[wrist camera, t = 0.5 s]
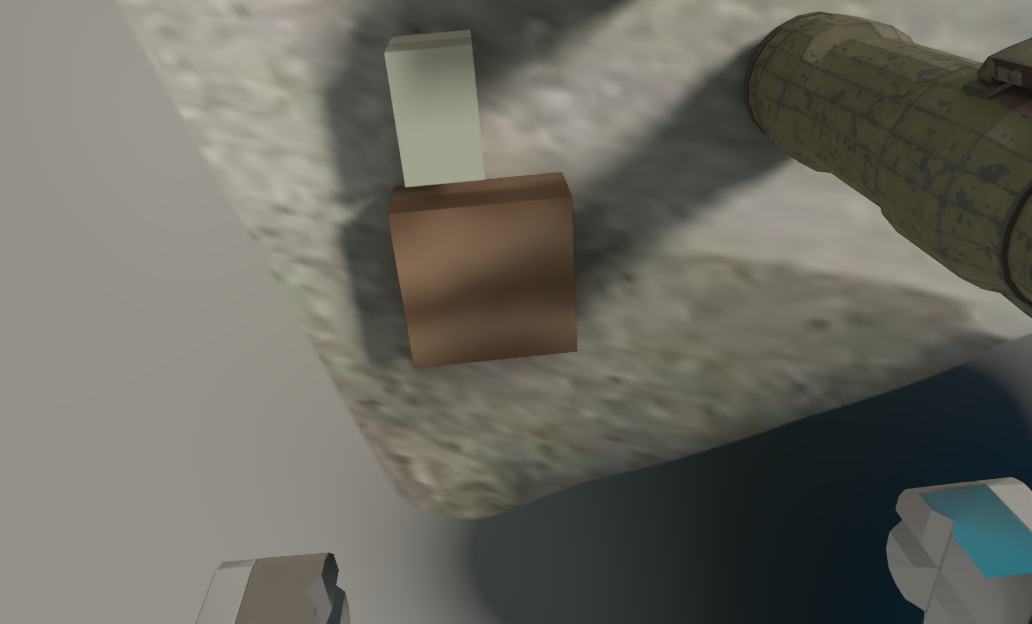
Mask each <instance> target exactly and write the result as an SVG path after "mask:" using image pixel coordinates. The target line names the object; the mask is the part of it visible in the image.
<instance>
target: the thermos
mask: <svg viewBox="0 0 1032 624" xmlns="http://www.w3.org/2000/svg"><path fill="white" fill-rule="evenodd" d="M744 86H745V104H746V107H747V109H748V112H749V115H750V118H751V120H752V121H753V122H754V123H755V124H756V125H757V127H758V128H759V129H760V130H761V131H762V132H763V133H764V134H766V135H767V136H768V137H769V138H770V139H771V140H772V142H773V143H774V144H775V145H776V146H778V147H779V148H781V149H782V150H783V151H785V152H786V153H787V154H789V155H790V156H791V157H793V158H794V159H796V160H797V161H798V162H800V163H802V164H804V165H806V166H808V167H809V168H811V169H813V170H815V171H819V172H827V173H832V174H833V175H835V176H836V177H838V178H839V179H840V180H842V181H843V182H845V183H846V184H848V185H849V186H850V187H852V188H853V189H855V190H856V191H858V192H859V193H860V194H862V195H863V196H865V197H866V198H868V199H869V200H870V201H872V202H873V203H875V204H876V205H878V206H879V207H880V208H881V212H882V214H883V215H884V217H885V218H886V219H887V220H888V222H889V223H890V224H891V225H892V226H893V228H894V229H895V230H896V231H897V232H898V233H899V234H901V235H902V236H903V237H905V238H906V239H908V240H909V241H910V242H912V243H913V244H914V245H916V246H917V247H919V248H920V249H921V250H923V251H924V252H925V253H927V254H928V255H930V256H931V257H932V258H934V259H935V260H936V261H938V262H939V263H940V264H942V265H943V266H945V267H946V268H947V269H949V270H950V271H951V272H953V273H954V274H956V275H957V276H958V277H960V278H962V279H964V280H966V281H968V282H970V283H972V284H974V285H976V286H978V287H980V288H982V289H985V290H989V291H994V292H998V293H1001V294H1002V295H1003V296H1005V297H1006V298H1007V299H1008V300H1009V301H1011V302H1012V303H1013V304H1014V305H1016V306H1017V307H1018V308H1019V309H1020V310H1022V311H1023V312H1024V313H1025V314H1027V315H1028V316H1030V317H1031V318H1032V38H1030V39H1027V40H1025V41H1022V42H1020V43H1017V44H1014V45H1012V46H1010V47H1007V48H1005V49H1003V50H1001V51H999V52H997V53H995V54H993V55H991V56H989V57H988V58H987V59H986V60H985V62H984V63H980V62H977V61H974V60H970V59H967V58H963V57H960V56H956V55H953V54H949V53H946V52H942V51H939V50H935V49H932V48H928V47H925V46H921V45H918V44H914V42H913V41H912V39H911V37H909V36H908V35H906V34H904V33H903V32H901V31H900V30H898V29H896V28H895V27H893V26H891V25H887V24H883V23H879V22H875V21H871V20H868V19H864V18H860V17H854V16H848V15H841V14H831V13H825V12H814V13H809V14H804V15H799V16H796V17H795V18H793V19H791V20H789V21H787V22H785V23H783V24H782V25H780V26H778V27H777V28H776V29H775V30H774V31H773V32H772V33H771V34H770V35H769V36H768V37H767V38H766V39H765V40H764V41H763V42H762V43H761V45H760V46H759V48H758V49H757V51H756V53H755V54H754V56H753V58H752V59H751V61H750V64H749V68H748V71H747V75H746V78H745V82H744Z"/></svg>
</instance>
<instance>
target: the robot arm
mask: <svg viewBox="0 0 1032 624" xmlns="http://www.w3.org/2000/svg"><path fill="white" fill-rule="evenodd" d="M896 511H897V512H898V514H899V515H900V516H901V518H902V519H903V520H902V521H901V522H900V523H899V524H898V525H897V526H896V527H895V528H893V529H892V530H891V531H890V533H889V538H888V543H887V548H886V551H887V557H888V563H889V569H890V571H891V574H892V576H893V578H894V581H895V583H896V585H897V586H898V588H899V590H900V591H901V593H902V594H903V596H904V597H905V599H907V600H908V601H910V602H912V603H913V604H915V605H916V606H918V607H919V608H921V609H923V610H924V611H925V616H924V624H1032V491H1031V490H1030V489H1029V488H1028V487H1027V486H1026V485H1025V484H1024V483H1022V482H1020V481H1018V480H1017V479H1014V478H1012V477H1010V478H1001V479H992V480H983V481H976V482H965V483H956V484H947V485H939V486H931V487H922V488H915V489H906V490H905V491H904V492H903V493H902V494H901V495H900V496H899V499H898V502H897V506H896ZM338 572H339V569H338V566H337V563H336V560H335V557H334V554H332V553H319V554H306V555H293V556H282V557H269V558H259V559H252V560H241V561H229V562H223V563H222V564H221V565H220V566H219V568H218V569H217V570H216V571H215V573H214V575H213V578H212V581H211V583H210V586H209V589H208V591H207V594H206V597H205V600H204V602H203V605H202V607H201V610H200V613H199V615H198V618H197V621H196V624H350V614H349V605H348V601H347V597H346V594H345V591H343V590H342V589H341V588H339V587H338V586H336V584H337V578H338Z"/></svg>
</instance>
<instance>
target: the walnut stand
mask: <svg viewBox="0 0 1032 624" xmlns="http://www.w3.org/2000/svg"><path fill="white" fill-rule="evenodd" d="M388 220H389V226H390V232H391V237H392V243H393V249H394V255H395V260H396V266H397V272H398V278H399V283H400V289H401V295H402V301H403V306H404V312H405V318H406V324H407V330H408V335H409V341H410V347H411V353H412V358H413V364H414V368H417V367H427V366H437V365H447V364H457V363H467V362H477V361H487V360H497V359H507V358H517V357H527V356H537V355H547V354H557V353H567V352H577V329H576V301H575V272H574V244H573V216H572V196H571V193H570V191H569V189H568V186H567V184H566V181H565V179H564V176H563V174H562V172H560V173H550V174H539V175H528V176H517V177H507V178H496V179H485V180H477V181H466V182H455V183H445V184H434V185H423V186H413V187H400V188H394V189H393V193H392V197H391V201H390V206H389V210H388Z"/></svg>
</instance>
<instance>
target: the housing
mask: <svg viewBox="0 0 1032 624" xmlns="http://www.w3.org/2000/svg"><path fill="white" fill-rule="evenodd" d="M384 55H385V61H386V68H387V74H388V80H389V87H390V93H391V99H392V106H393V112H394V118H395V125H396V131H397V138H398V144H399V150H400V157H401V163H402V169H403V176H404V182H405V187H413V186H423V185H434V184H445V183H455V182H466V181H477V180H485V171H484V161H483V151H482V141H481V131H480V120H479V110H478V100H477V90H476V80H475V69H474V59H473V49H472V40H471V31H470V30H461V31H450V32H438V33H427V34H416V35H404V36H393V37H392V38H391V40H390V42H389V44H388V46H387V48H386V50H385V52H384Z"/></svg>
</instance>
